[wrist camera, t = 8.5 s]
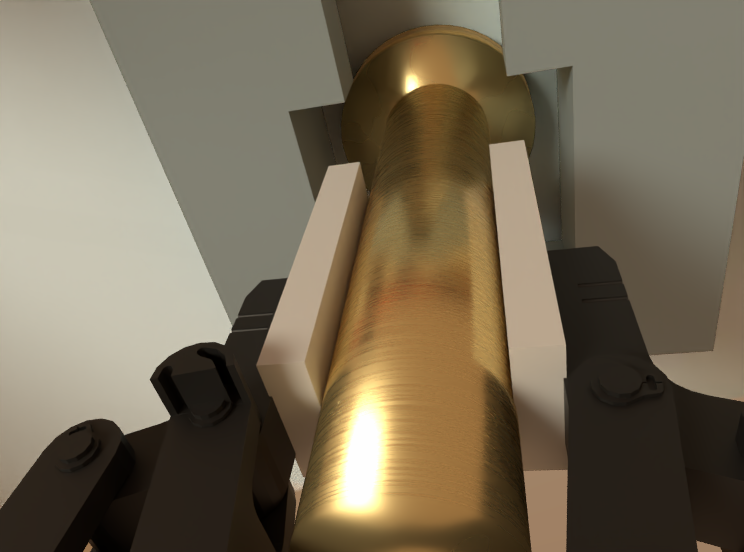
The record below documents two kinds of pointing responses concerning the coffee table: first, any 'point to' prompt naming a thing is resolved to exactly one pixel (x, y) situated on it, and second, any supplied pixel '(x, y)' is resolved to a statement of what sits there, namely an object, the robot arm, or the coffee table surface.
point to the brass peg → (423, 314)
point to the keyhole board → (521, 55)
